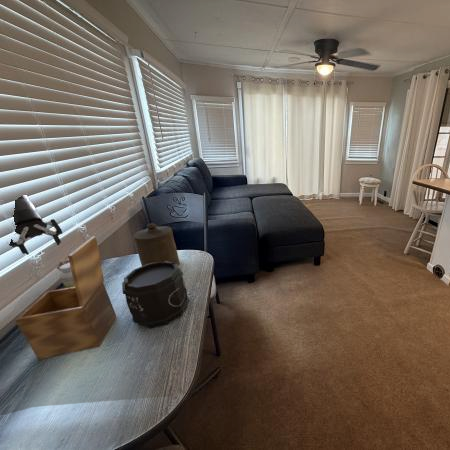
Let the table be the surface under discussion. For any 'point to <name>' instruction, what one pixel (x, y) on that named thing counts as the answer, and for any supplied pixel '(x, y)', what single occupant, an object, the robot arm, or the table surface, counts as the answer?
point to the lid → (86, 270)
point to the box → (66, 322)
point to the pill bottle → (67, 276)
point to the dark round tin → (155, 294)
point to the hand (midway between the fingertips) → (43, 248)
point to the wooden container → (156, 245)
